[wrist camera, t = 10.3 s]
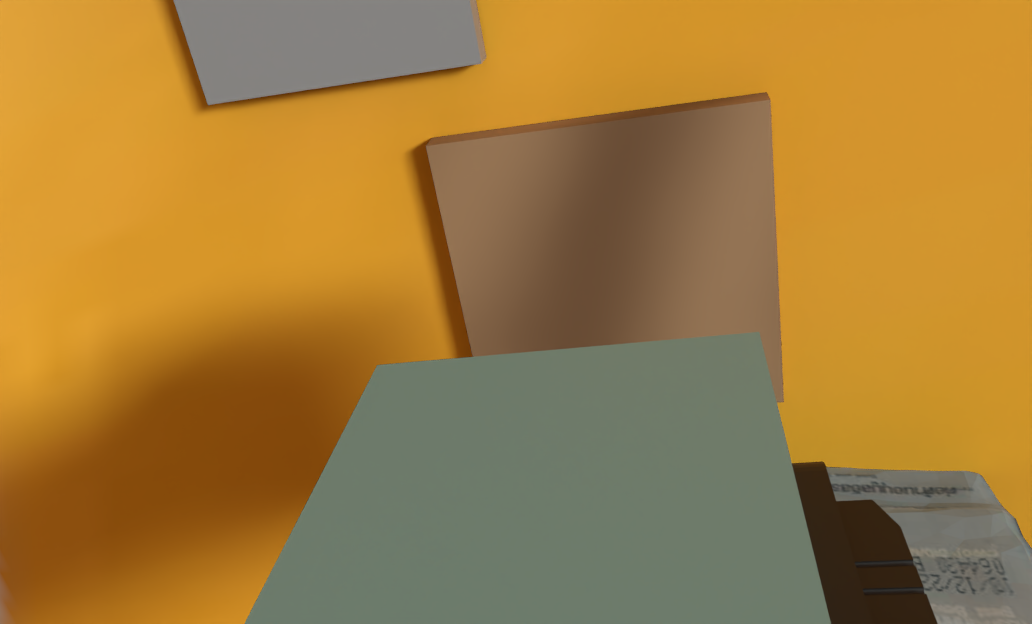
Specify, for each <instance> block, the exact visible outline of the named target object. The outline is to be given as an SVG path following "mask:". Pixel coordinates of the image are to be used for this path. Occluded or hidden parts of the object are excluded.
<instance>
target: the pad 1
mask: <svg viewBox="0 0 1032 624" xmlns="http://www.w3.org/2000/svg"><path fill="white" fill-rule="evenodd" d="M174 3H175V6H176V10H177V13H178V16H179V19H180V22H181V25H182V28H183V31H184V34H185V37H186V40H187V43H188V46H189V49H190V52H191V55H192V58H193V61H194V64H195V67H196V70H197V74H198V77H199V80H200V83H201V86H202V89H203V92H204V95H205V98H206V101H207V104H208V105H212V104H218V103H225V102H231V101H238V100H245V99H251V98H258V97H264V96H271V95H278V94H284V93H291V92H297V91H304V90H311V89H317V88H324V87H330V86H337V85H344V84H350V83H357V82H363V81H370V80H377V79H383V78H390V77H396V76H403V75H410V74H416V73H423V72H429V71H436V70H442V69H449V68H456V67H462V66H469V65H475V64H482V62H483V61H484V60H485V59H486V53H485V47H484V42H483V36H482V31H481V25H480V20H479V14H478V9H477V3H476V0H174Z"/></svg>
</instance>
